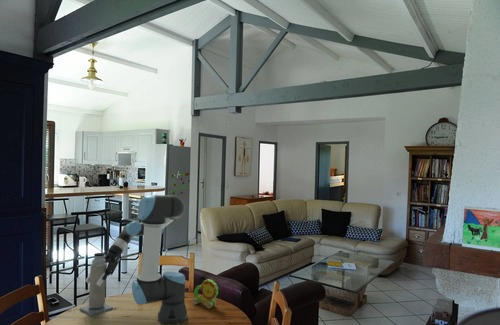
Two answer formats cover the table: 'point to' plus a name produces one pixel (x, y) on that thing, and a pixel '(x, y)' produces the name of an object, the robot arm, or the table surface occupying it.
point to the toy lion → (206, 293)
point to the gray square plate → (95, 310)
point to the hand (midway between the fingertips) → (92, 283)
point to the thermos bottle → (95, 273)
